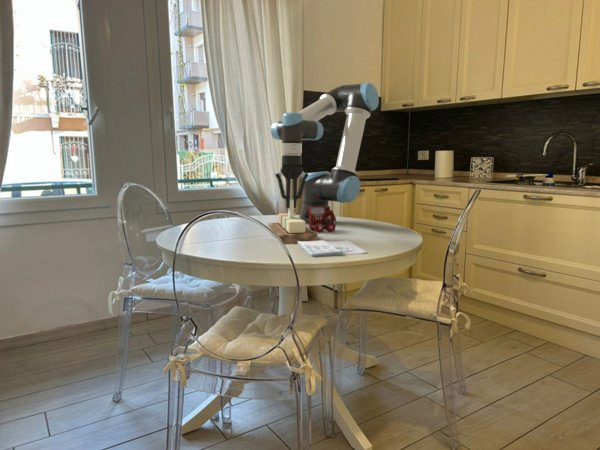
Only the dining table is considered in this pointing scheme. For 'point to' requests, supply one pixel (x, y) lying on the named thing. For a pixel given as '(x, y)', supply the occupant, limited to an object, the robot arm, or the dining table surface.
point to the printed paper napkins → (330, 248)
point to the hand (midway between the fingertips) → (290, 216)
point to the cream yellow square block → (295, 226)
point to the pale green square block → (287, 219)
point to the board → (292, 234)
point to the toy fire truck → (321, 219)
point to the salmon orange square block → (281, 217)
